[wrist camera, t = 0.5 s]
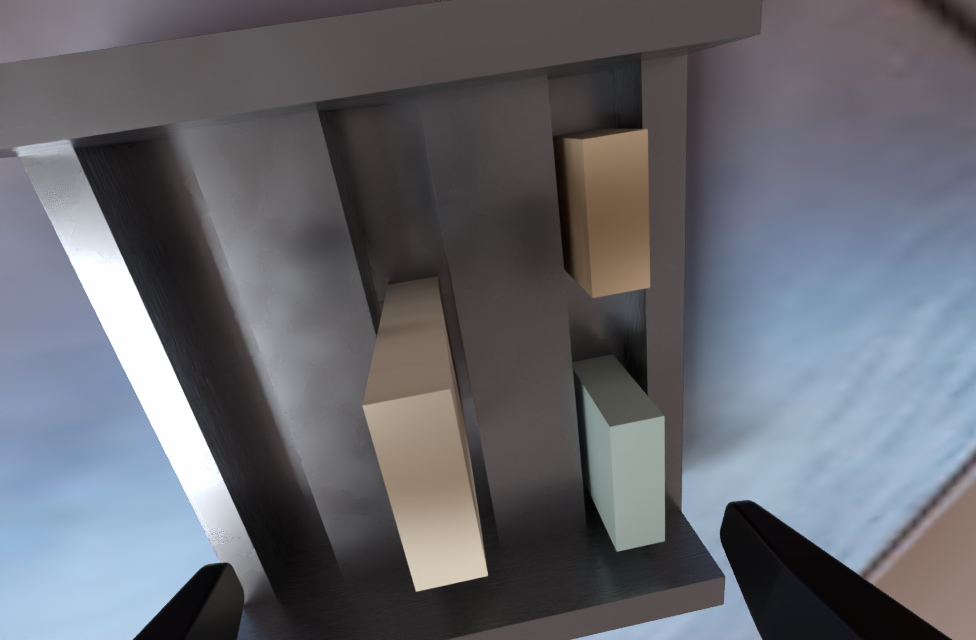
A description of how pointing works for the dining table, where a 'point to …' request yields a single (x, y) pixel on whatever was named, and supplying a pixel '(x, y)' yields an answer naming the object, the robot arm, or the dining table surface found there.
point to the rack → (381, 288)
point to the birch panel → (424, 437)
